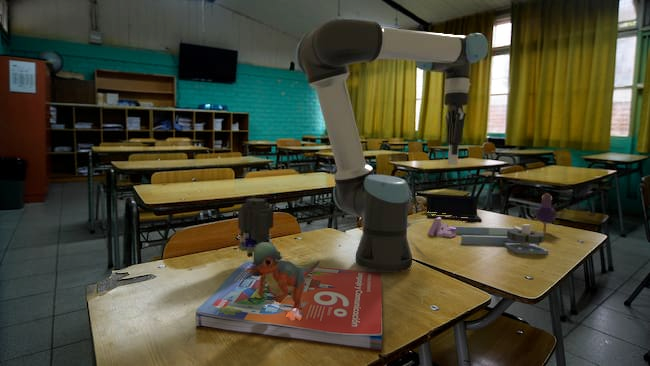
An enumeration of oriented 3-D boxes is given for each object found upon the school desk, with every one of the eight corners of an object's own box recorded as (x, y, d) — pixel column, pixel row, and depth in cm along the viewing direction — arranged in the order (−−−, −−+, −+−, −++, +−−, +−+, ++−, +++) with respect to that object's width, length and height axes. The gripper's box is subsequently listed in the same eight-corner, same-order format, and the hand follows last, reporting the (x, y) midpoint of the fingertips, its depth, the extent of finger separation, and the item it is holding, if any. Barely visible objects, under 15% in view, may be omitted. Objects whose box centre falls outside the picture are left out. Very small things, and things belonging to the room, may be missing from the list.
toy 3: (564, 214, 139) (547, 205, 144) (563, 198, 131) (545, 189, 136) (544, 236, 139) (528, 226, 144) (542, 221, 131) (524, 211, 136)
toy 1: (264, 249, 107) (265, 197, 106) (278, 257, 100) (278, 201, 98) (235, 254, 102) (235, 198, 101) (247, 262, 95) (247, 203, 94)
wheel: (517, 242, 109) (517, 236, 109) (502, 235, 119) (502, 228, 119) (550, 243, 109) (551, 236, 109) (533, 236, 119) (533, 229, 118)
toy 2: (249, 333, 64) (253, 246, 63) (232, 308, 74) (235, 232, 72) (343, 315, 73) (347, 238, 72) (317, 295, 83) (321, 227, 81)
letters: (457, 236, 131) (458, 219, 131) (449, 239, 126) (450, 221, 126) (435, 232, 137) (436, 215, 136) (426, 235, 131) (427, 218, 131)
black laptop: (427, 222, 155) (428, 197, 155) (425, 215, 171) (426, 193, 170) (481, 225, 151) (482, 200, 150) (474, 218, 167) (475, 195, 166)
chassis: (473, 252, 110) (474, 226, 109) (447, 232, 135) (448, 211, 134) (557, 254, 110) (559, 228, 109) (515, 234, 134) (517, 213, 134)
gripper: (475, 90, 119) (471, 165, 121) (461, 95, 132) (457, 164, 134) (451, 89, 119) (447, 165, 121) (439, 95, 132) (436, 163, 134)
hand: (452, 164), depth 128 cm, fingers closed
